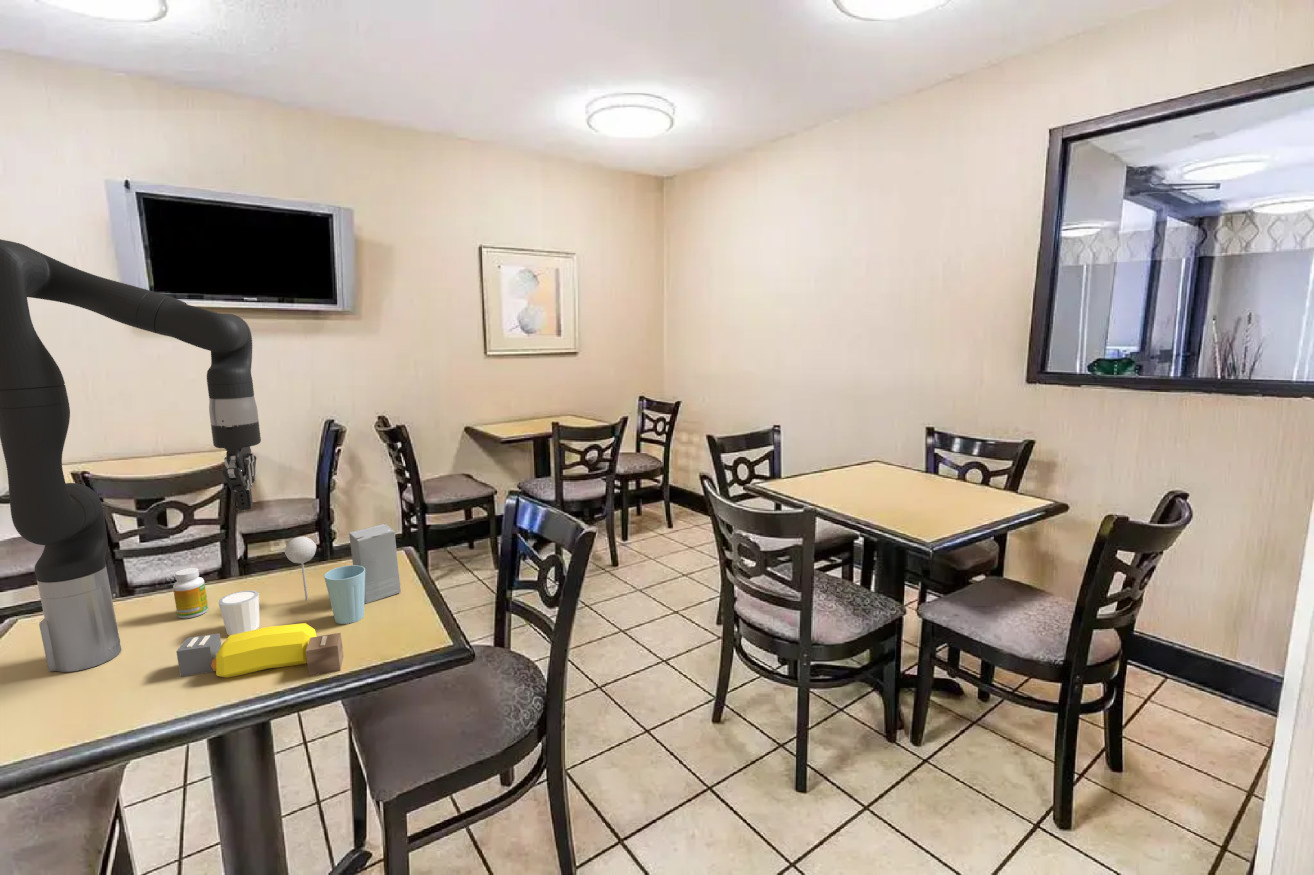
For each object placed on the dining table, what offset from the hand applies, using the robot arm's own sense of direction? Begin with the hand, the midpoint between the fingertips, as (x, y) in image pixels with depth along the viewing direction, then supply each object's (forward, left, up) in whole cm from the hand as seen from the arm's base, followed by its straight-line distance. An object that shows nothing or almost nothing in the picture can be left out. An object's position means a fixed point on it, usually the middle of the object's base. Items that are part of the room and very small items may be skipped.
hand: (245, 508), depth 118 cm
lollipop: (+6, +14, -27) cm, 30 cm away
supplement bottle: (-16, +16, -27) cm, 35 cm away
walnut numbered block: (+14, -18, -26) cm, 35 cm away
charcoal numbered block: (-7, -10, -26) cm, 29 cm away
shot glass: (-4, +4, -27) cm, 27 cm away
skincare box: (+21, +11, -27) cm, 35 cm away
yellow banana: (+4, -14, -27) cm, 30 cm away
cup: (+16, +1, -27) cm, 31 cm away
